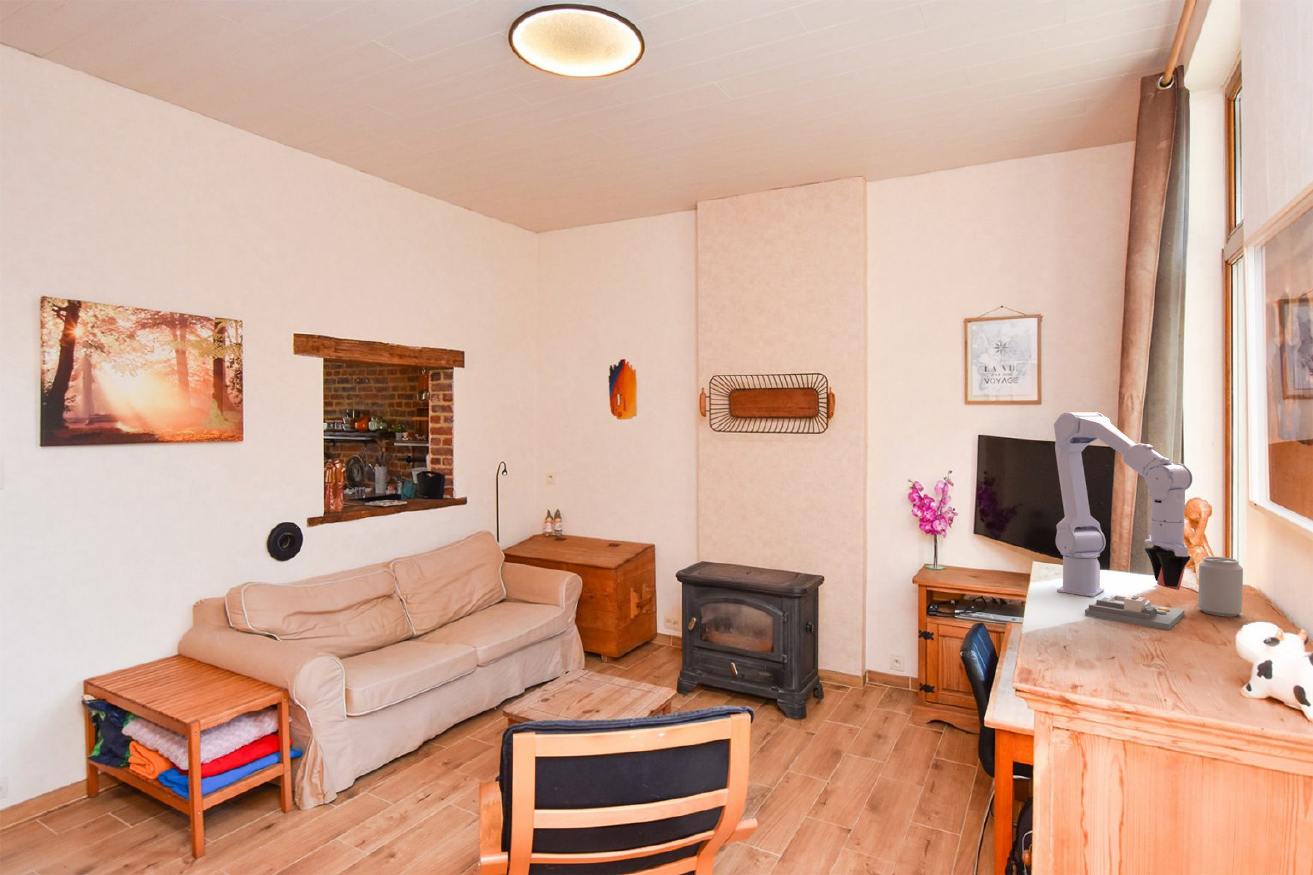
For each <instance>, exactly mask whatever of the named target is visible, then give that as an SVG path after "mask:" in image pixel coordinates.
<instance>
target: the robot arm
mask: <svg viewBox="0 0 1313 875" xmlns="http://www.w3.org/2000/svg"><path fill="white" fill-rule="evenodd" d="M1053 429H1054V437H1055V444H1054V448H1055V449H1054V450H1055V457H1056V465H1057V470H1058V472H1057V473H1058V477H1059V484H1060V485H1059V486H1060V492H1061V499H1062V506H1063V513H1064V517H1063V518H1062V519H1061V520H1060V521H1058V523H1057V524H1056V525H1055V526H1056V535H1055V545H1056V548H1057V549H1058V551H1059V552H1060V555H1061V556H1062V586H1060V587H1059V588H1057V589H1056V591H1057V592H1061V593H1067V594H1073V595H1079V596H1087V597H1091V598H1092V597H1093V598H1094V597H1096V596H1097V595H1099V594H1100V593H1102V592H1104V591H1105V588H1104V587H1100V586H1101V584H1100V583H1101V581H1100V580H1101V564H1100V562H1099V560H1098V558H1099V557H1100V556H1101V553H1102V552H1104V550H1105V547H1106V543H1107V541H1106V537H1105V534H1104V533H1103V532H1102V528H1101V524H1100V522H1099V521H1098V520H1096V519H1095V517H1093V516H1092V515H1091V510H1090V504H1089V498H1088V489H1087V484H1086V476H1085V470H1084V463H1083V455H1082V452H1083V451H1084V450H1085V449H1086V447H1087V446H1089V445H1090V444H1092V443H1094V442H1095V441H1097V440H1099V441H1101V442H1103V443H1104V444H1105V445H1107V446H1109V447H1110V448H1111V449H1113V450H1114V451H1116V452H1118V453H1119V454H1121V455H1122V456H1123V458H1122V459H1123V463H1124V464H1126V465H1127V466H1128V467H1129V468H1131V469H1132V470H1134V471H1135V472H1136V473H1137V474H1139V475H1140V476H1142V477H1143V478H1144V482H1145V485H1146V486H1147V488H1148V489H1149V496H1150V499H1151V519H1150V520H1151V521H1150V523H1151V524H1150V525H1151V527H1150V529H1151V530H1150V534H1149V535H1147V537H1148V538H1147V539H1144V543H1145V544H1147V545H1153V546H1152V547H1144V551H1145V552H1146V554H1147V556H1148V558H1149V560H1150V564H1151V566H1152V571H1153V575H1154V580H1155V581H1156V582H1157V581H1158V577H1159V573H1160V569H1161V567H1162V574H1163V581H1164V585H1165V586H1171V587H1177V585H1178V583H1179V580H1180V576H1181V573H1182V571H1183V569H1184V567H1185V568H1186V565H1187V564H1188V562H1189V561H1190V560H1191V556H1190V555H1189V553H1188V552H1189V548H1188V546H1186V542H1185V541H1184V540H1185V514H1186V513H1185V511H1186V510H1185V509H1186V508H1185V506H1186V505H1185V502H1186V490H1188V489H1189V488H1190V487H1191V485H1192V483H1193V474H1192V472H1191V470H1190V469H1189V468H1188V467H1187V466H1186V465H1185V464H1183V463H1172V461H1171V460H1170V459H1169V458H1168V457H1164V456H1163V455H1161V454H1160V453H1158V452H1157V451H1156V450H1154V446H1153V445H1151V444H1147V443H1142V442H1141V443H1135V442H1134V441H1133V440H1131V439H1130V438H1129V437H1127V436H1126V434H1124V433H1123V432H1121V431H1120V430H1119V429H1118V428H1117V427H1116V426H1114V424H1112V422H1111V420H1110V418H1108V417H1106V416H1105V415H1104V414H1102V413H1100V412H1098V411H1097V412H1096V411H1094V412H1071V411H1069V412H1067V411H1066V412H1063V413H1061V414H1060V415H1059V416H1058V417H1057V419H1056V420H1055V422H1054V423H1053Z"/></svg>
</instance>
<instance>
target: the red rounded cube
mask: <svg viewBox="0 0 1313 875" xmlns="http://www.w3.org/2000/svg"><path fill="white" fill-rule="evenodd" d="M1185 570H1186V566H1185V567H1184V569H1183V571H1182V573H1181V576H1180V580H1179V583H1178V585H1177V587H1171V586H1165V585H1164V581H1163V574H1162V567H1161V569H1160V573H1159V577H1158V581H1156V585H1159V586H1160V587H1164V588H1167V589H1171V590H1177V591H1179V590H1180V588H1181V585H1182V582H1183V581H1182V580H1183V578H1184V574H1185Z"/></svg>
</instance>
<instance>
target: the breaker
mask: <svg viewBox="0 0 1313 875" xmlns="http://www.w3.org/2000/svg"><path fill="white" fill-rule="evenodd" d="M1125 597H1126V598H1124V610H1127V611H1133V612H1139V613H1145V604H1146V600H1147V599H1146V597H1143V596H1137V595H1127V596H1125Z"/></svg>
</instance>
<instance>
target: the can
mask: <svg viewBox="0 0 1313 875" xmlns="http://www.w3.org/2000/svg"><path fill="white" fill-rule="evenodd" d="M1239 563H1240V561H1239V560H1238V559H1236V558H1235V559H1234V558H1229V557H1225V556H1224V557H1223V556H1204V557H1202V561H1201V562H1200V563H1198V599H1197V600H1198V603H1197V604H1198V605H1197V606H1198V608H1200V609H1201V610H1202V612H1203V613H1206V614H1209V615H1213V616H1220V617H1230V618H1231V617H1232V618H1233V617H1237V616H1238V615H1240V614H1241V613H1242V612H1243V591H1244V590H1243V589H1244V588H1243V587H1244V585H1243V584H1244V582H1243V581H1244V568H1243V567H1242V566H1241V565H1240V564H1239Z"/></svg>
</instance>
